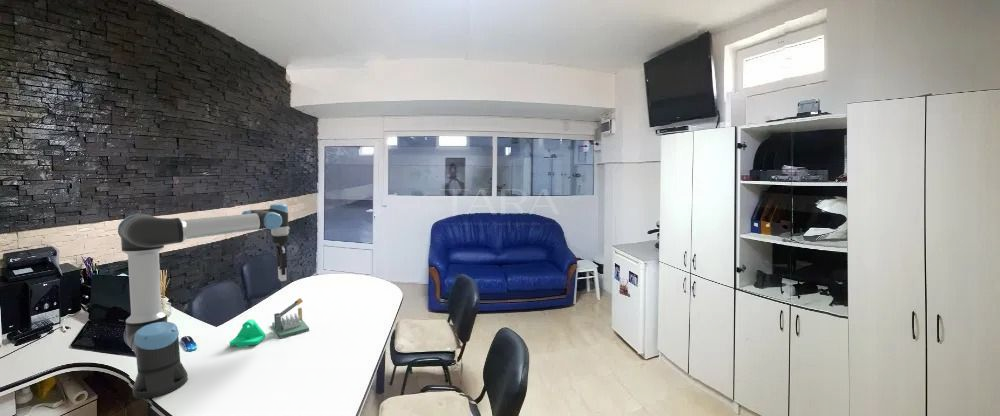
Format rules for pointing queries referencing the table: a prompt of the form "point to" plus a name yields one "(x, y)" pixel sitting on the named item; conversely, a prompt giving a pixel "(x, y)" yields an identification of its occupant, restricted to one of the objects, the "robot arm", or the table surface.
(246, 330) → the camera mount
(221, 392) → the table surface
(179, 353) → the robot arm
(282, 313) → the grey lever handle
